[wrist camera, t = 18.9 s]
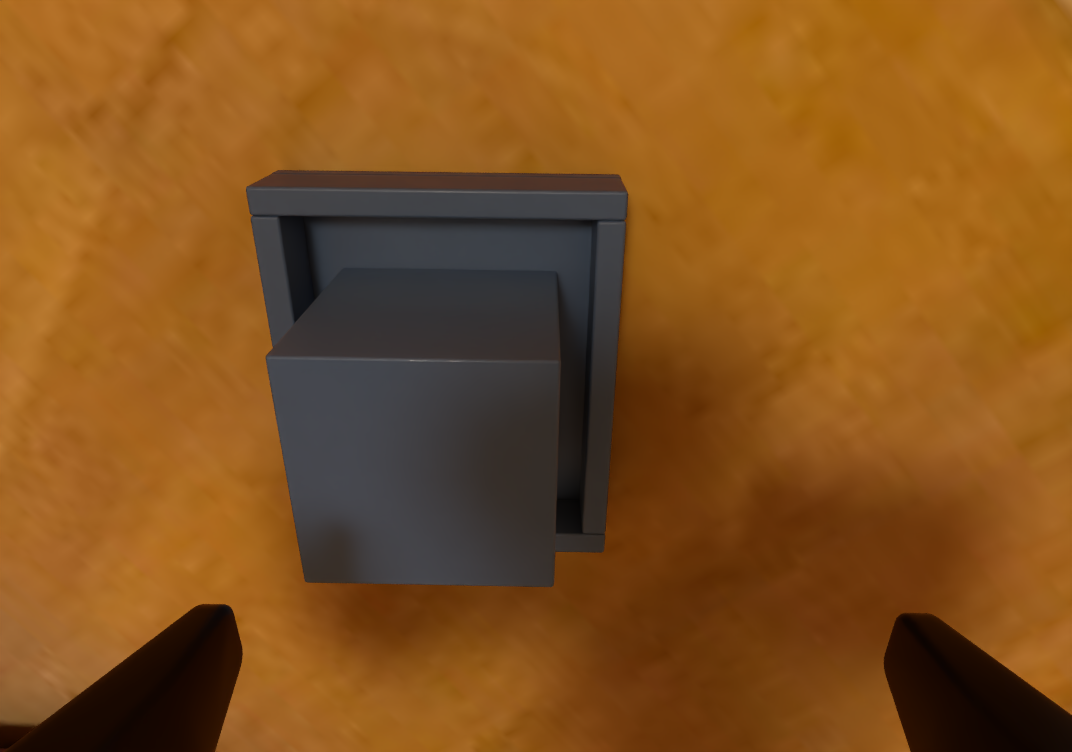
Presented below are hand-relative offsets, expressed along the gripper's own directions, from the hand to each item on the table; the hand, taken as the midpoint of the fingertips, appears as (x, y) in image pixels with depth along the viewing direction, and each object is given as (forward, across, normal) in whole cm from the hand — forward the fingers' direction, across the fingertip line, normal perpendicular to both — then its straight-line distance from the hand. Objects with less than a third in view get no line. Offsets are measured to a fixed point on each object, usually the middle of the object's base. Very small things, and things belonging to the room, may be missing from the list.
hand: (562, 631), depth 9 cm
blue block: (+9, +2, 0) cm, 9 cm away
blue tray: (+9, +2, 0) cm, 9 cm away
